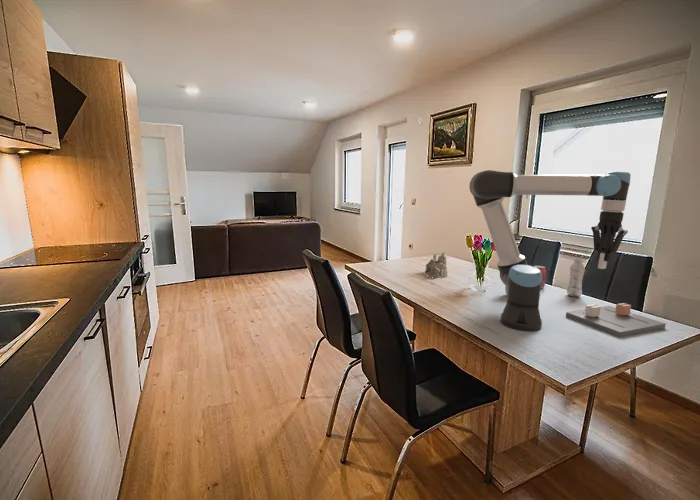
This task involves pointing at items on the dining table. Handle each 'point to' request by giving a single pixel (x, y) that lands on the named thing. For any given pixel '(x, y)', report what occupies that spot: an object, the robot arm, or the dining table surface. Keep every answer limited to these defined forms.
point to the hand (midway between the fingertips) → (601, 268)
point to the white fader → (592, 310)
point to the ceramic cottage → (437, 267)
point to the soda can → (542, 275)
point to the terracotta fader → (623, 309)
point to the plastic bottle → (576, 278)
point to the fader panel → (617, 322)
